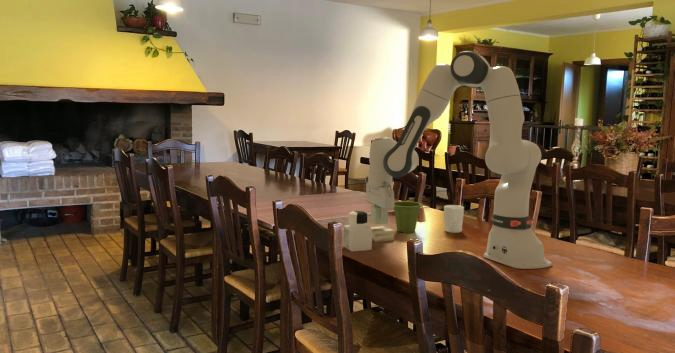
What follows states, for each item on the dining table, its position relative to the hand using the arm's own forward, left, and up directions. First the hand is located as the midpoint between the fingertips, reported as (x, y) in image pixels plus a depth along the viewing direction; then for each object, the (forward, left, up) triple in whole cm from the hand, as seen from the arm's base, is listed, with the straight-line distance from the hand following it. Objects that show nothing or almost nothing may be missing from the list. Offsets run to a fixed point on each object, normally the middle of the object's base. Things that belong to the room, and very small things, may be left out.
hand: (379, 216), depth 201 cm
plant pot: (+9, -15, -9) cm, 19 cm away
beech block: (0, 0, -9) cm, 9 cm away
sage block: (0, 0, -2) cm, 2 cm away
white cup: (+5, -34, -9) cm, 35 cm away
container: (-12, +13, -9) cm, 19 cm away
